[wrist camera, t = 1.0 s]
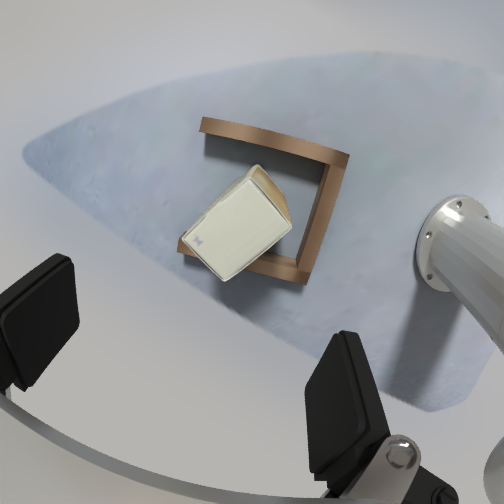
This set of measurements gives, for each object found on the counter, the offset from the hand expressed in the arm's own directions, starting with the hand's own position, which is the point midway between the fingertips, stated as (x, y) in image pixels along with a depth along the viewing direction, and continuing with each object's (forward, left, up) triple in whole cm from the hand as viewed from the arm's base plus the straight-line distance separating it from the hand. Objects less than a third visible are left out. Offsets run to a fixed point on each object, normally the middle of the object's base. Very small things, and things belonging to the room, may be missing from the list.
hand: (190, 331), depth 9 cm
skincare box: (0, 0, -22) cm, 22 cm away
